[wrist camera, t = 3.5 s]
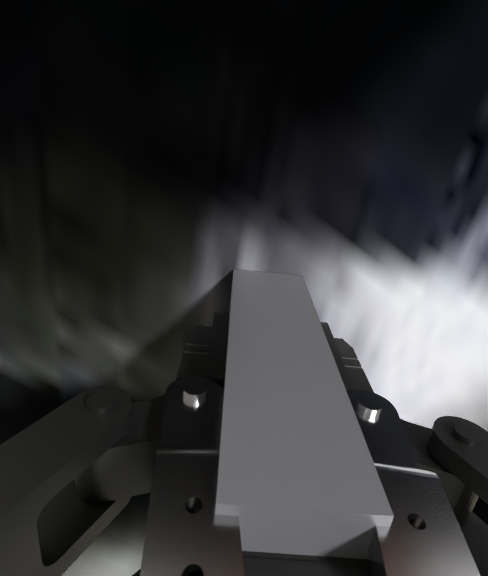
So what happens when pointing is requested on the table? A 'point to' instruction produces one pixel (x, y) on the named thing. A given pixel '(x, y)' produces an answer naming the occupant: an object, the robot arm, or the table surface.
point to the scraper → (291, 430)
